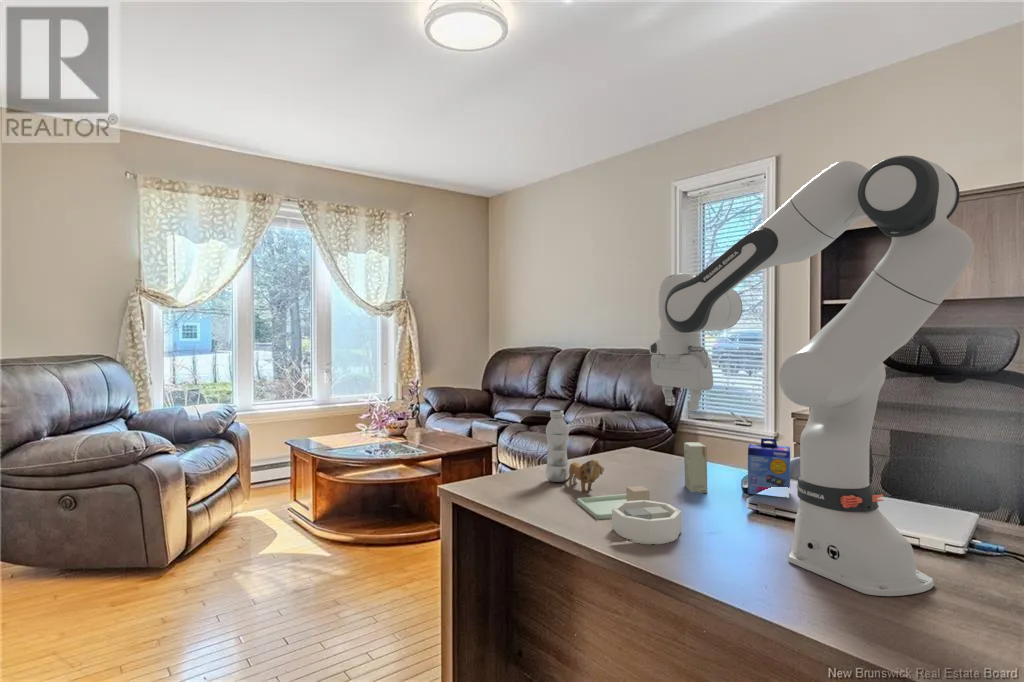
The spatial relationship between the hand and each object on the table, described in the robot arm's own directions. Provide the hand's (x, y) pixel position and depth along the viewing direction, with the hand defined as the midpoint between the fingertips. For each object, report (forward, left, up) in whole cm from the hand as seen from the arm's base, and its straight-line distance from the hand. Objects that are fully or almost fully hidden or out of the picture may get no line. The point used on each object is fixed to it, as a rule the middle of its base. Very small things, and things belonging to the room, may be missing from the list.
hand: (681, 407), depth 128 cm
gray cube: (-7, +15, -24) cm, 29 cm away
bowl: (-7, +13, -25) cm, 29 cm away
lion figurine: (+26, +14, -25) cm, 39 cm away
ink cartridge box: (+10, -30, -25) cm, 41 cm away
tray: (+9, +12, -25) cm, 29 cm away
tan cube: (+9, +7, -24) cm, 27 cm away
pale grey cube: (-7, +10, -24) cm, 27 cm away
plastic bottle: (+36, +18, -25) cm, 47 cm away
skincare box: (+18, -14, -25) cm, 34 cm away
